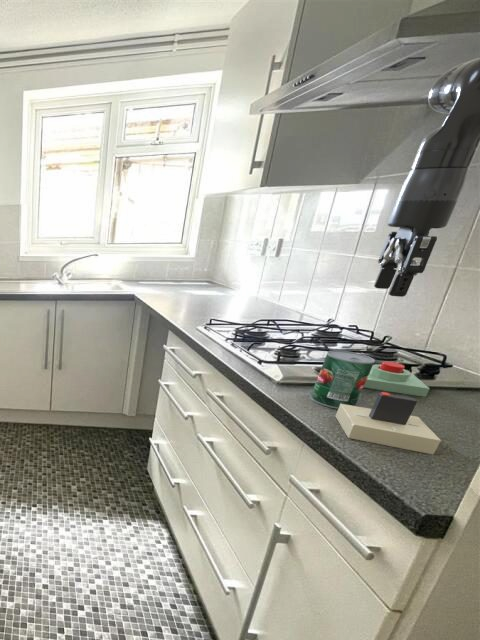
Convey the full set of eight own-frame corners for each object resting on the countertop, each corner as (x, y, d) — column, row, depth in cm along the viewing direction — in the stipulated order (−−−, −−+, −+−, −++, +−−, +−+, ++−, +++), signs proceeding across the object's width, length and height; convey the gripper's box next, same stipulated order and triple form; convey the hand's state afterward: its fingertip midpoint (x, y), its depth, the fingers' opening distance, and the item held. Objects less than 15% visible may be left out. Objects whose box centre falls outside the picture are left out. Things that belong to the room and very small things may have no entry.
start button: (398, 369, 102) (401, 363, 101) (404, 375, 99) (407, 368, 98) (377, 366, 104) (379, 360, 103) (382, 372, 100) (385, 365, 100)
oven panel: (411, 430, 82) (418, 415, 81) (433, 455, 74) (441, 439, 73) (335, 416, 87) (340, 402, 86) (348, 438, 79) (354, 423, 78)
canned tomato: (302, 393, 98) (318, 349, 93) (339, 395, 96) (358, 351, 92) (323, 408, 90) (342, 361, 86) (364, 411, 89) (385, 363, 85)
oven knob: (402, 421, 79) (414, 396, 77) (405, 425, 78) (418, 400, 76) (368, 415, 81) (379, 391, 79) (371, 418, 80) (382, 394, 78)
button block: (408, 382, 104) (415, 367, 103) (425, 397, 96) (433, 381, 94) (347, 373, 109) (353, 359, 108) (359, 386, 101) (365, 371, 100)
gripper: (478, 198, 65) (431, 301, 71) (438, 198, 76) (401, 287, 83) (413, 198, 68) (374, 296, 75) (384, 198, 79) (352, 284, 86)
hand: (388, 291), depth 79 cm, fingers open, 8 cm apart
